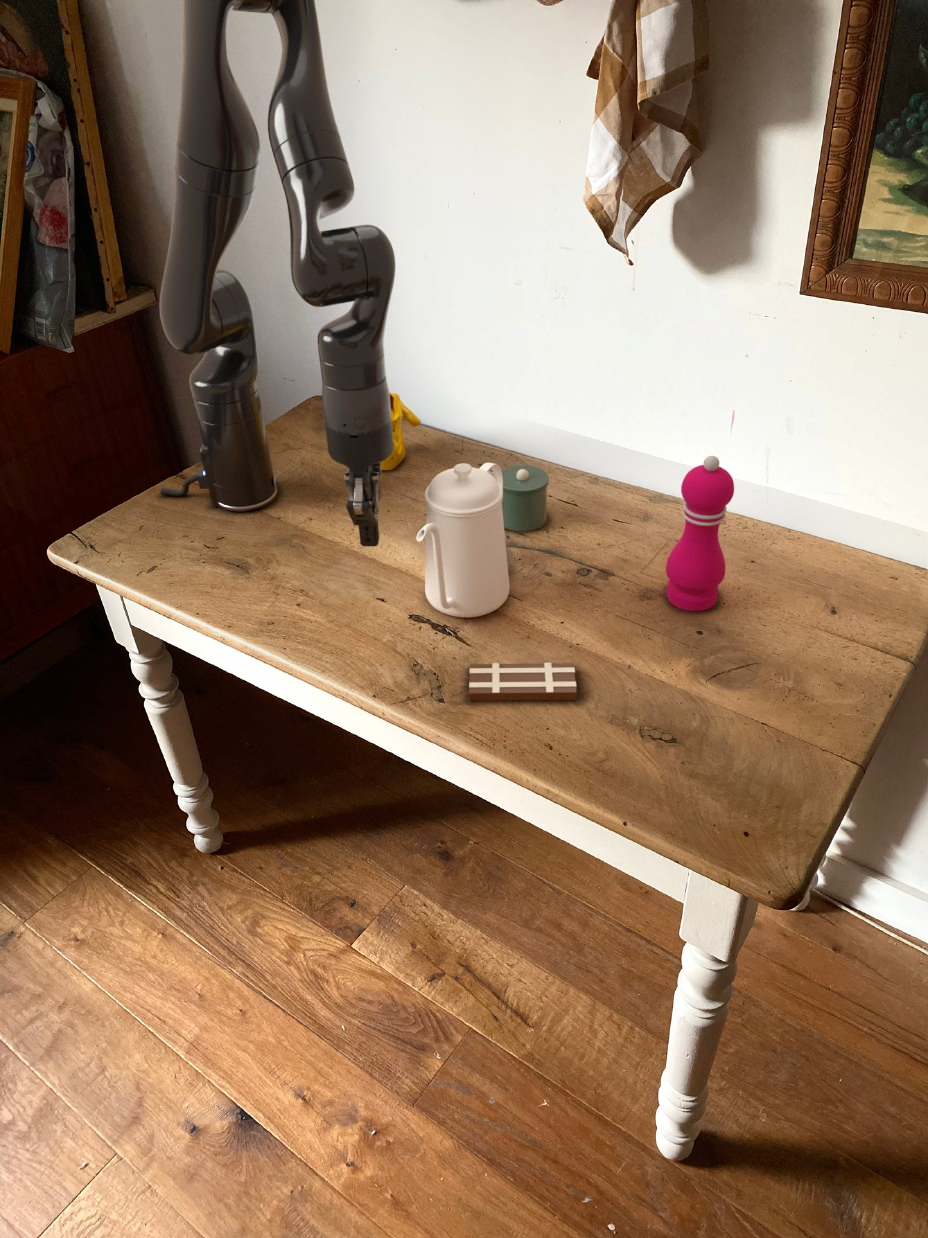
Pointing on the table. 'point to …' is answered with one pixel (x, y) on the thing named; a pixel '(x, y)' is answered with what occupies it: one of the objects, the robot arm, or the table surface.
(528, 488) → the canister
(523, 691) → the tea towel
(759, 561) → the table surface
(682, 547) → the pepper mill
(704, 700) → the table surface
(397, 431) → the figure statuette
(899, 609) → the table surface
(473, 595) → the coffeepot
